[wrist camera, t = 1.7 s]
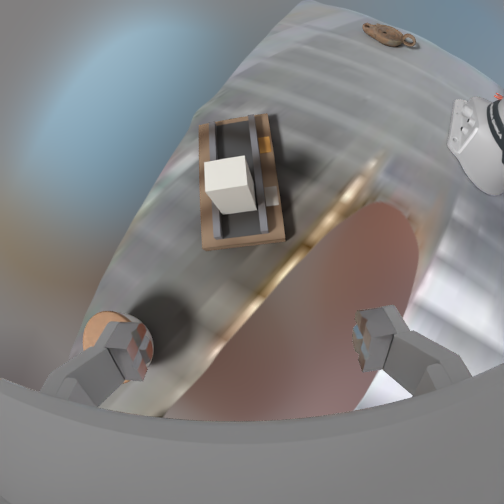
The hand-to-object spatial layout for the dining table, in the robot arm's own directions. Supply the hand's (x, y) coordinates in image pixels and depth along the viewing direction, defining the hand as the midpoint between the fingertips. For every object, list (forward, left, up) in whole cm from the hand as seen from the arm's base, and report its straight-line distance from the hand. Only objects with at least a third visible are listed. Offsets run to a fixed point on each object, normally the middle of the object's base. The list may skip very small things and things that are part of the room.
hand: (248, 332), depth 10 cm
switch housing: (-18, -12, -30) cm, 37 cm away
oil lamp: (-65, +9, -31) cm, 72 cm away
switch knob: (-14, -10, -28) cm, 33 cm away
